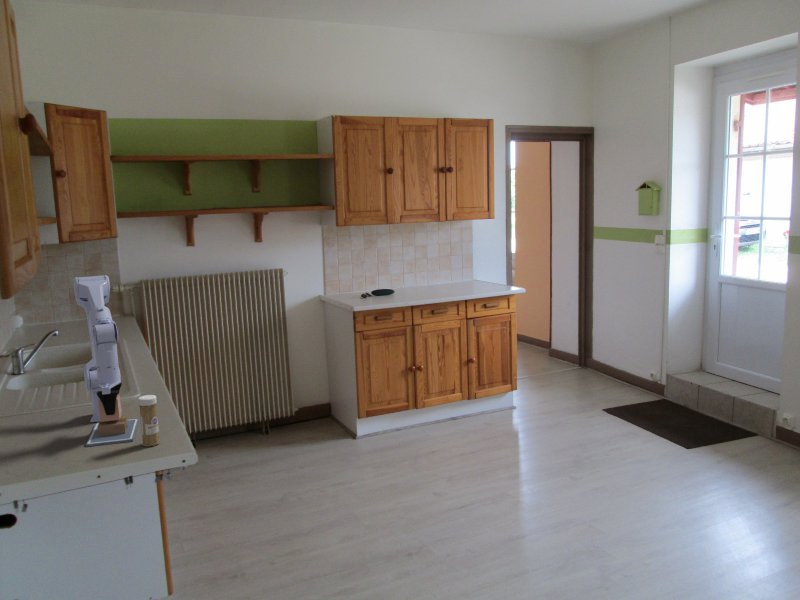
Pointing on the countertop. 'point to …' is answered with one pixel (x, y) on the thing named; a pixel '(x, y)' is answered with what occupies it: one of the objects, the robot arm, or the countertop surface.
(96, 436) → the board
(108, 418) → the terracotta block
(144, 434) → the sprinkles bottle
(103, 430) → the walnut base block
